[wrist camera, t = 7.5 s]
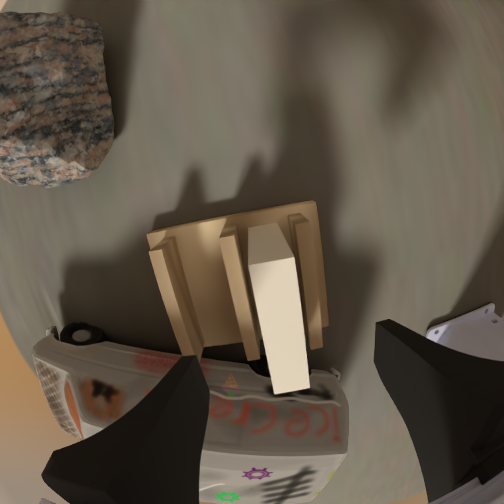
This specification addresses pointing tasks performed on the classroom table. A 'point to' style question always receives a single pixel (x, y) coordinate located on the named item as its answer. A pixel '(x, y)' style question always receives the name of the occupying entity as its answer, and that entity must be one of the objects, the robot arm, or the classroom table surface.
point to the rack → (234, 277)
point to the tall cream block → (278, 307)
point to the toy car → (219, 419)
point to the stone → (52, 99)
